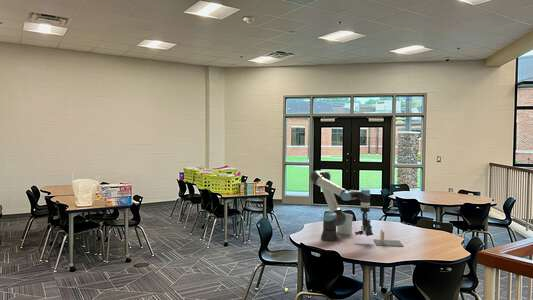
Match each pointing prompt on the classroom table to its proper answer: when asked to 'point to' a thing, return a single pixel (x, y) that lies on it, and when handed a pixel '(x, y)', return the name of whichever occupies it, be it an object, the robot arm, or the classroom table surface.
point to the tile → (382, 237)
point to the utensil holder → (346, 226)
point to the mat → (388, 243)
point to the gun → (368, 229)
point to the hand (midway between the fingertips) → (364, 233)
